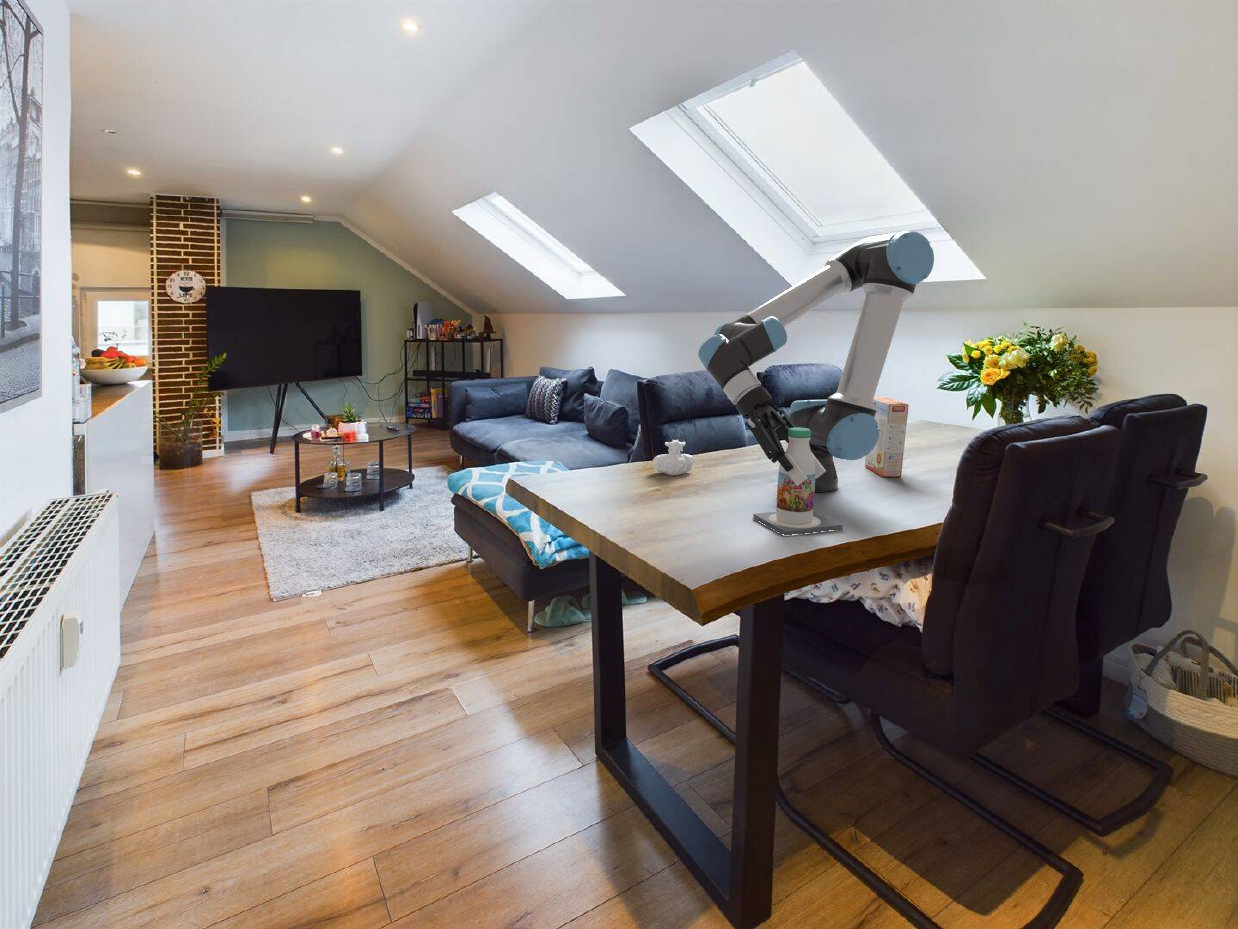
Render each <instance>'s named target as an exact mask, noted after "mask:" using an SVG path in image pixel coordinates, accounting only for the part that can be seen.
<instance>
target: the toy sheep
mask: <svg viewBox="0 0 1238 929" xmlns="http://www.w3.org/2000/svg"><path fill="white" fill-rule="evenodd" d="M664 445H665V446H666V447H668V451H667V452H668V453H667V454H666V453H665V454H663V453H662V454H658V455H656V456H655V457H653V459H652V464H653V468H654V470H655V472H657V473H661V474H666V475H668V476H674V475H676V476H680V475H682V474H685V473H688V472H690V471H691V470H692V468H693V465H694V463H695V461H696V459H695V457H693V455H690V454H687V453H681V452H683V448H684V446H686V441H682V442H681V441H679V439H675V440H674V439H672V440H671V441H669V442H668V441H666V442H664Z"/></svg>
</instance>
